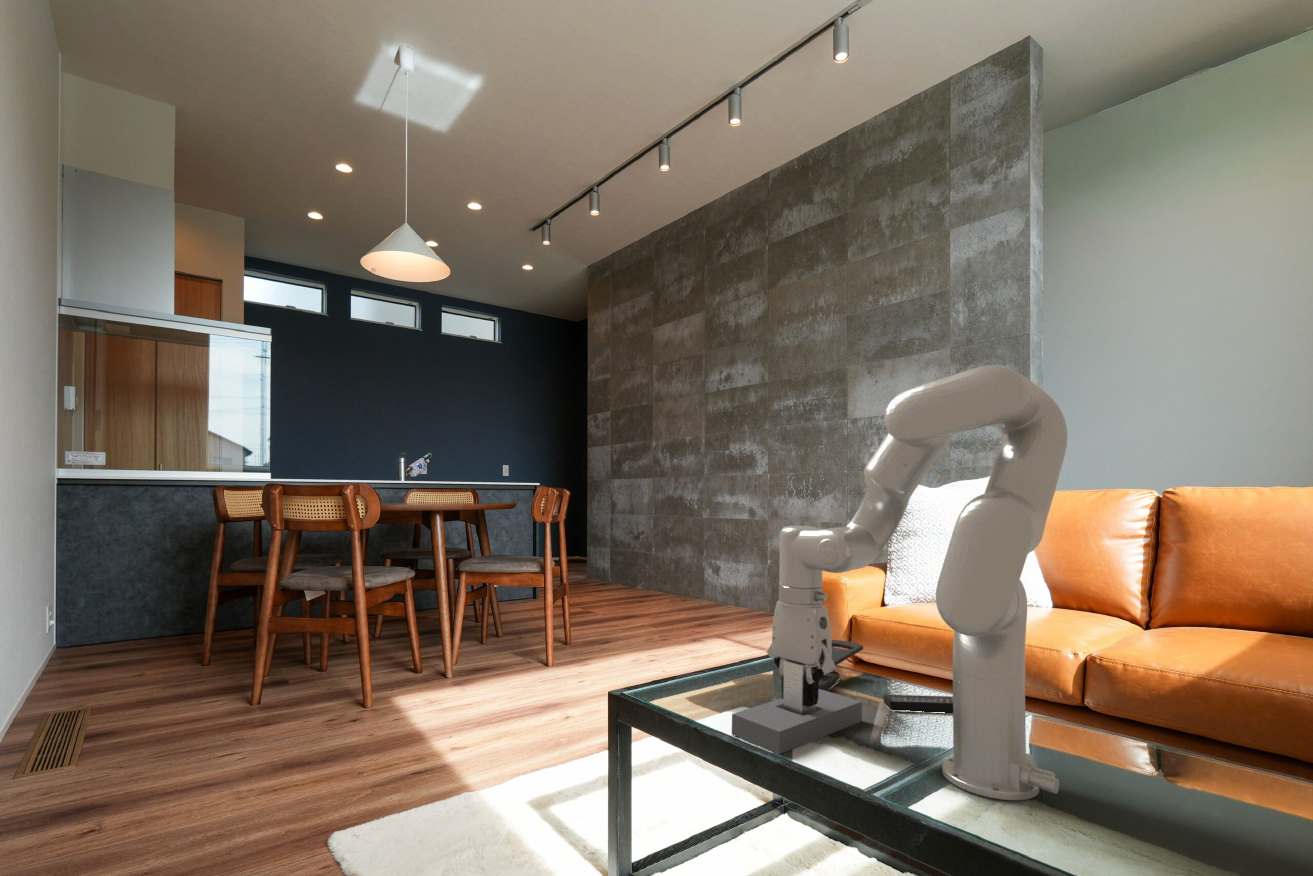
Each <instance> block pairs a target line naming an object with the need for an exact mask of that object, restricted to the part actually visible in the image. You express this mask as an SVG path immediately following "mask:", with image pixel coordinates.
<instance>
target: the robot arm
mask: <svg viewBox="0 0 1313 876" xmlns="http://www.w3.org/2000/svg"><path fill="white" fill-rule="evenodd" d="M883 419H884V425H885V429H886V431H887V434H886V435H885V437H884V438H883V440H882V442H881V443H880V444H879V446H878V448H877V449H876V450H875V451H874V453H873V454H872V456H871V457H870V459H869V460H868V462H867V463H866V465H865V467H864V470H863V471H864V472H863V473H864V481H865V486H866V487H865V488H866V489H865V494H864V497H863V500H862V503H861V504H860V506H859V508H858V509H857V511H856V513H855V514H854V515H853V517H852V519H851V520H850V521H849V522H848V524H847V525H846V526H839V527H832V528H831V527H830V528H818V527H816V526H808V525H787V526H784V527H782V529H780V533H779V571H778V572H779V574H778V575H779V578H778V579H779V584H778V585H779V586H778V587H779V588H778V591H779V592H778V595H779V596H778V601H776V604H775V607H774V608H775V609H774V615H773V619H772V631H771V644H770V645H769V647H768V649H767V650H766V654H767V655H768V656H769V658H770V659H771V660H772V661H773V662H774V665H775V666H776V668H777V669H778V674H779V675H780V676H781V699H783V690H784V661H785V660H790V661H794V662H798V663H802V664H805V671H806V678H807V682H806V683H804V706H806V707H810V706H813V705H815V704H817V702H818V682H819V681H821V680H822V678H823V677H824V676H825V675H826V674H828V673H830V672H832V671H836V669H837V665H836V666H835V664H834V662H833V660H832V643H831V641H832V631H831V623H830V616H829V612H828V608H827V605H825V604H823V602H826V601H827V600H828V594H827V593H825V592H823V590H824V589H823V572H827V573H832V574H833V573H834V574H842V573H845V572H850V571H854V570H860V569H864V568H865V567H867V566H869V565H871V563H873V562H874V560H876V559H877V557H878V556H879V555H880V554H881V552H882V551H883V549H884V548H885V546H886V545H887V544H888V542H889V541H890V539H891V538H892V536H893V535H894V533H895V532H896V530H897V529H898V527H899V525H900V523H901V521H902V518H903V517H904V514H905V512H906V510H907V508H908V505H909V503H910V502H909V501H910V499H911V496H912V495H913V494H914V492H915V490H916V489H917V488H918V486H919V485H920V483H921V482H922V480H923V479H924V477H925V476H926V474H927V473H928V472H929V470H930V469H931V468H932V466H933V465H934V464H935V462H936V461H937V459H938V458H939V456H940V455H941V453H942V452H943V451H944V449H945V448H946V446H947V445H948V443H949V442H950V440H951V439H952V438H953V435H956V434H960V433H965V432H968V431H972V430H977V429H981V428H985V427H992V428H995V429H997V430H998V431H999V432H1000V434H1001V444H1000V447H999V449H998V451H997V453H996V456H995V459H994V461H993V465H992V469H991V473H990V476H989V479H988V481H987V485H986V488H985V490H984V493H983V494H980V495H977V496H976V497H974V498H971V500H970V501H969V502H968V503H966V504H965V506H964V507H962V508H963V509H962V510H961V511H960V513H959V514H958V515H959V516H958V517H957V519H956V521H955V524H954V527H953V531H952V534H951V537H950V540H949V544H948V547H947V550H946V554H945V558H944V560H943V564H942V568H941V570H940V574H939V577H938V580H937V584H936V589H935V604H936V608H937V611H938V614H939V615H940V617H941V619H942V620H943V621H944V623H945V624H946V625H947V626H948V627H949V628H951V629H952V630H953V631H954V632H953V640H952V641H953V643H952V696H953V714H952V737H953V738H952V741H953V742H952V743H953V744H952V747H953V748H952V749H953V751H952V752H953V753H952V755H953V756H951V757H948V758H946V759H945V760H943V762H942V763H941V772H942V774H943V776H944V777H945V779H946V780H948V781H949V782H950V783H951V784H953V785H955V786H956V787H958V788H960V789H962V790H964V791H967V792H969V793H972V794H974V795H975V794H976V795H978V796H981V797H986V798H990V799H996V800H1002V801H1003V800H1004V801H1025V800H1029V799H1032V798H1035V797H1036V796H1038V795H1039V793H1040V789H1041V790H1044V791H1047V792H1049V793H1052V794H1058V792H1059V791H1060V790H1059V789H1060V780H1059V778H1058V777H1057V778H1056V774H1055V772H1053V771H1050V770H1046V769H1041V768H1038V767H1037V765H1035V764H1034V755H1033V754H1031V753H1027V745H1026V744H1027V741H1026V737H1027V736H1026V731H1027V730H1026V633H1027V621H1028V620H1027V619H1028V597H1027V592H1026V589H1025V587H1024V584H1023V582H1022V581H1021V576H1022V572H1023V570H1024V566H1025V564H1026V561H1027V557H1028V555H1029V554H1030V553H1031V552H1033V551H1035V550H1036V548H1038V546H1039V545H1040V543H1041V542H1042V539H1043V536H1044V532H1045V528H1046V525H1047V524H1046V523H1047V519H1048V516H1049V512H1050V509H1051V506H1052V504H1053V503H1052V502H1053V500H1054V497H1055V493H1056V489H1057V485H1058V481H1059V479H1060V478H1059V477H1060V473H1061V470H1062V467H1063V463H1064V461H1065V456H1066V452H1067V451H1066V450H1067V447H1068V427H1067V422H1066V418H1065V416H1064V414H1063V412H1062V410H1061V408H1060V407H1059V406H1058V404H1057V403H1056V401H1055V400H1054V399H1053V398H1052V397H1051V396H1050V395H1049V394H1048V393H1046V392H1045V390H1043V389H1042V388H1041V387H1039V385H1037V384H1036V383H1034V382H1032V380H1030V379H1028V378H1027V377H1026V376H1025V375H1023V374H1021V373H1020V372H1018V371H1017V370H1015V369H1013V368H1011V367H1008V366H1005V365H1001V364H990V365H989V364H987V365H982V366H978V367H974V368H970V369H968V370H964V371H962V372H959V373H955V374H952V375H949V376H946V377H943V378H939V379H937V380H933V381H930V382H929V381H928V382H926V383H923V384H920V385H917V386H914V387H913V386H912V387H911V388H908V389H905V390H904V391H901V392H899V393H898V394H897V395H896V396H894V397H893V398H892V399H891V400H890V402H888V404H887V405H886V409H885V411H884V417H883ZM820 662H823V664H822V666H821V668H820ZM813 672H814V673H813Z"/></svg>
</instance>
